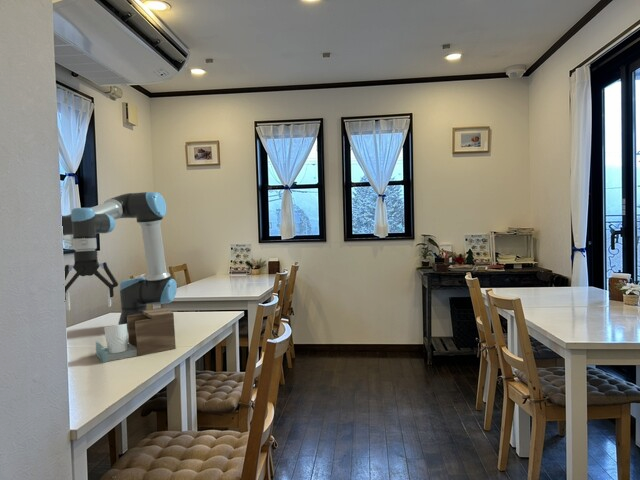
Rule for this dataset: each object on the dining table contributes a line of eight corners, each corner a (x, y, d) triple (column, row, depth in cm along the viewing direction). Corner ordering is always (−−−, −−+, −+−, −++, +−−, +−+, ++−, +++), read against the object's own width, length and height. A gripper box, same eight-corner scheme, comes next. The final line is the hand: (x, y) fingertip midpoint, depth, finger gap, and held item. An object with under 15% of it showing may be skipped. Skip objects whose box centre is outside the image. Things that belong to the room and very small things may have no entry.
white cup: (121, 352, 165) (118, 325, 167) (102, 355, 167) (99, 328, 168) (134, 349, 173) (131, 323, 174) (115, 352, 175) (113, 326, 176)
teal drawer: (96, 354, 175) (95, 341, 174) (133, 347, 182) (132, 335, 182) (103, 363, 163) (102, 349, 163) (142, 355, 171) (141, 342, 170)
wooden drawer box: (129, 348, 182) (126, 312, 181) (164, 341, 190) (162, 307, 189) (138, 356, 169) (135, 318, 169) (175, 348, 177) (173, 312, 177)
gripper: (43, 253, 158) (48, 313, 159) (121, 248, 166) (125, 306, 167) (48, 252, 165) (53, 310, 166) (123, 247, 173) (127, 303, 174)
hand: (89, 308), depth 166 cm, fingers open, 13 cm apart
